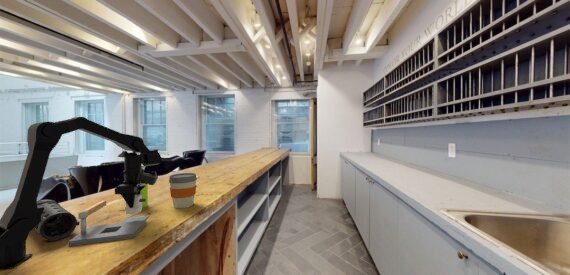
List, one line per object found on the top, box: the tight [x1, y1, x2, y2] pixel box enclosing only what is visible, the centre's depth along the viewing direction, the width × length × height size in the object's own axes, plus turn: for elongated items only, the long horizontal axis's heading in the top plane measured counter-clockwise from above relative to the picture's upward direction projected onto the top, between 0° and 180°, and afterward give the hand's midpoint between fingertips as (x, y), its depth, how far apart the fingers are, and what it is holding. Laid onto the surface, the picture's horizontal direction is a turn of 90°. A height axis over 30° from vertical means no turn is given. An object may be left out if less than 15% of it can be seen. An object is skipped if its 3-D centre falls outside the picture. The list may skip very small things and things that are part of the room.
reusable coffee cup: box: [168, 172, 198, 209], centre depth 109 cm, size 13×13×15 cm
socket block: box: [67, 218, 147, 247], centre depth 77 cm, size 12×18×6 cm, turn 106°
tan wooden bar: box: [78, 200, 107, 220], centre depth 81 cm, size 2×15×2 cm, turn 15°
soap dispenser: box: [141, 165, 149, 209], centre depth 107 cm, size 6×7×20 cm
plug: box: [124, 194, 146, 215], centre depth 89 cm, size 5×6×6 cm
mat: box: [121, 215, 149, 223], centre depth 89 cm, size 8×8×1 cm
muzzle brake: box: [34, 199, 81, 241], centre depth 82 cm, size 10×28×10 cm
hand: (133, 205), depth 89 cm, fingers closed on plug, 5 cm apart
